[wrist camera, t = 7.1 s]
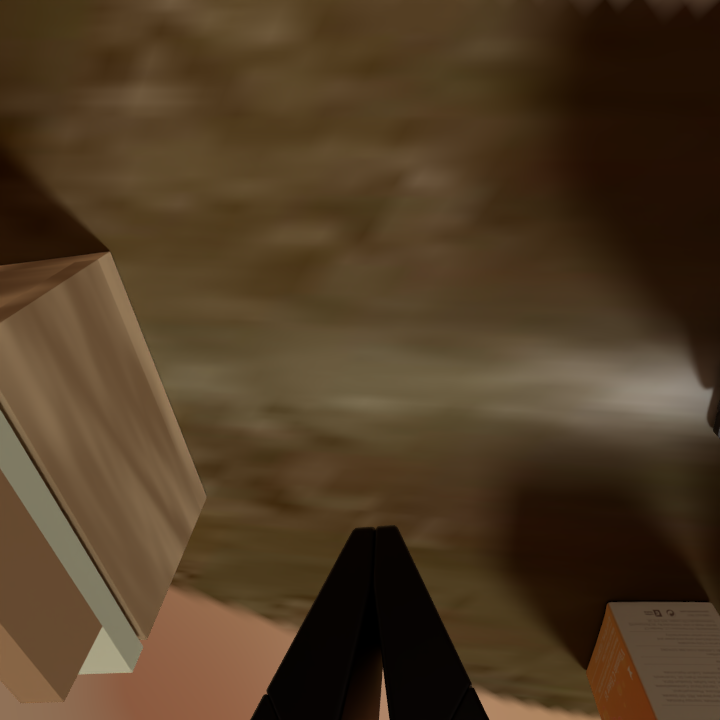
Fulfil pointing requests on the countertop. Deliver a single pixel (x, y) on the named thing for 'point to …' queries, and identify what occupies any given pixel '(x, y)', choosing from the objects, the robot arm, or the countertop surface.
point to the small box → (657, 662)
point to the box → (98, 424)
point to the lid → (50, 592)
